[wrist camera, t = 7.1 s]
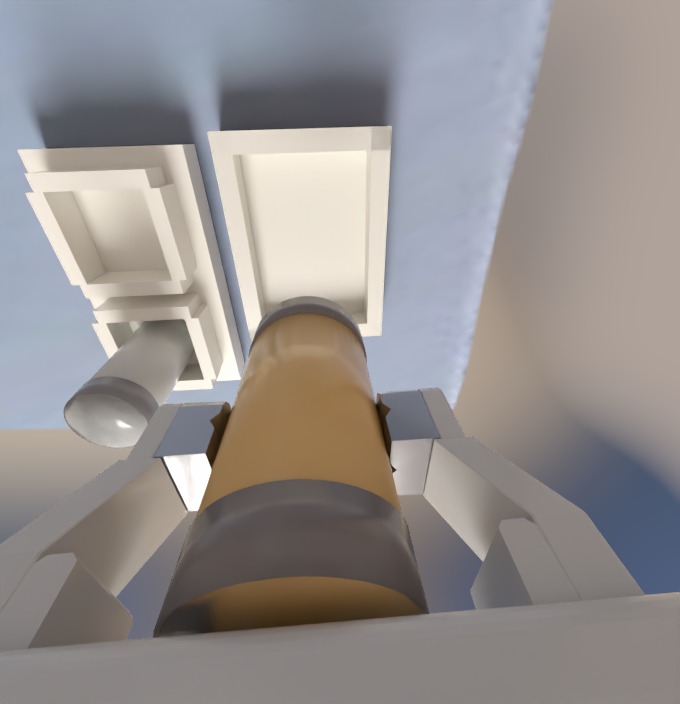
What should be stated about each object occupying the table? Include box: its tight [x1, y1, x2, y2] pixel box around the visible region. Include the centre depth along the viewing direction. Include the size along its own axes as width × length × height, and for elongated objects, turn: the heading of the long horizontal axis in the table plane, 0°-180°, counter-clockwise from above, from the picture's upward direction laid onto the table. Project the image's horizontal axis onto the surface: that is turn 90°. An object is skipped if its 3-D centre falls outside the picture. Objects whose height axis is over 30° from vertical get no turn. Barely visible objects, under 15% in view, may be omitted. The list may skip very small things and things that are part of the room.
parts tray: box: [207, 126, 392, 343], centre depth 20 cm, size 12×9×2 cm
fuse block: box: [17, 144, 245, 448], centre depth 18 cm, size 15×8×10 cm, turn 2°
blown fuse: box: [153, 296, 429, 638], centre depth 8 cm, size 4×4×8 cm
